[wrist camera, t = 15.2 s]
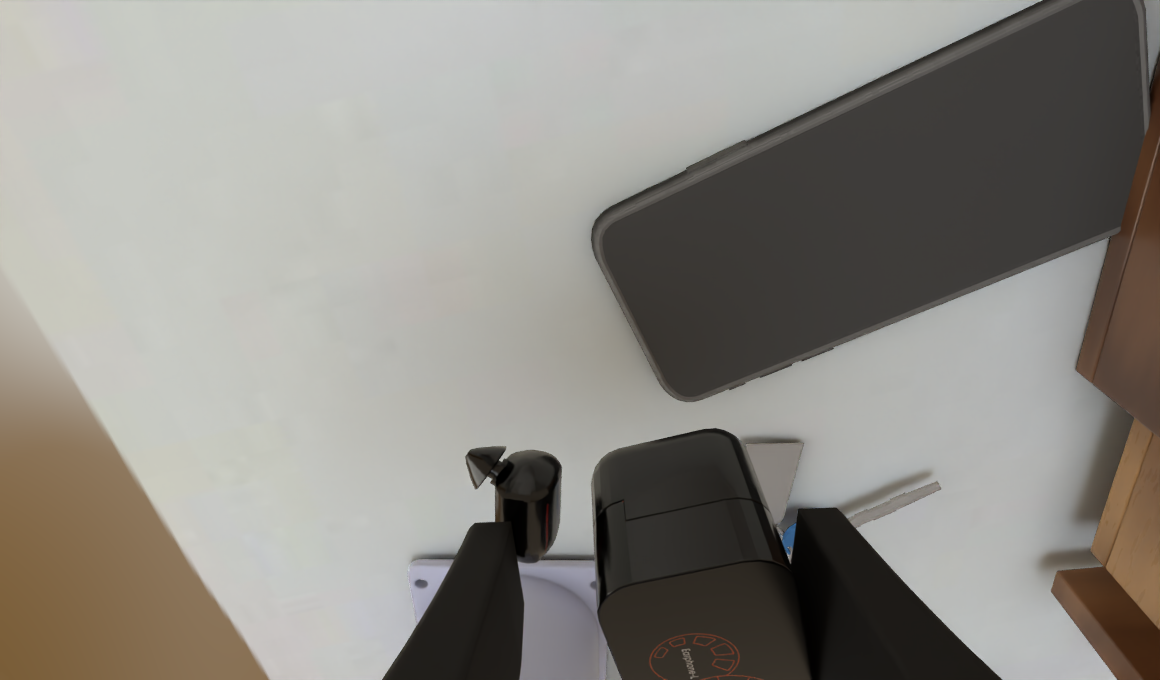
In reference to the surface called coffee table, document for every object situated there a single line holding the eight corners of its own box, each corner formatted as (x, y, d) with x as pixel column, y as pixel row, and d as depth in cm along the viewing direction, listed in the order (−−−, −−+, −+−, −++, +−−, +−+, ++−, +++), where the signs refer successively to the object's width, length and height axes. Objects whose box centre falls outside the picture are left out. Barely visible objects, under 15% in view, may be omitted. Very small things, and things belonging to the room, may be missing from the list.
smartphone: (1162, 222, 18) (674, 416, 21) (1137, 212, 19) (671, 399, 22) (1149, -48, 15) (575, 226, 18) (1119, -47, 16) (575, 216, 19)
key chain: (655, 652, 28) (657, 670, 28) (514, 562, 26) (512, 579, 25) (937, 478, 23) (948, 494, 23) (799, 342, 21) (807, 356, 20)
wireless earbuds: (728, 368, 11) (785, 507, 8) (779, 633, 14) (832, 796, 11) (467, 430, 11) (434, 580, 9) (577, 671, 15) (579, 835, 12)
